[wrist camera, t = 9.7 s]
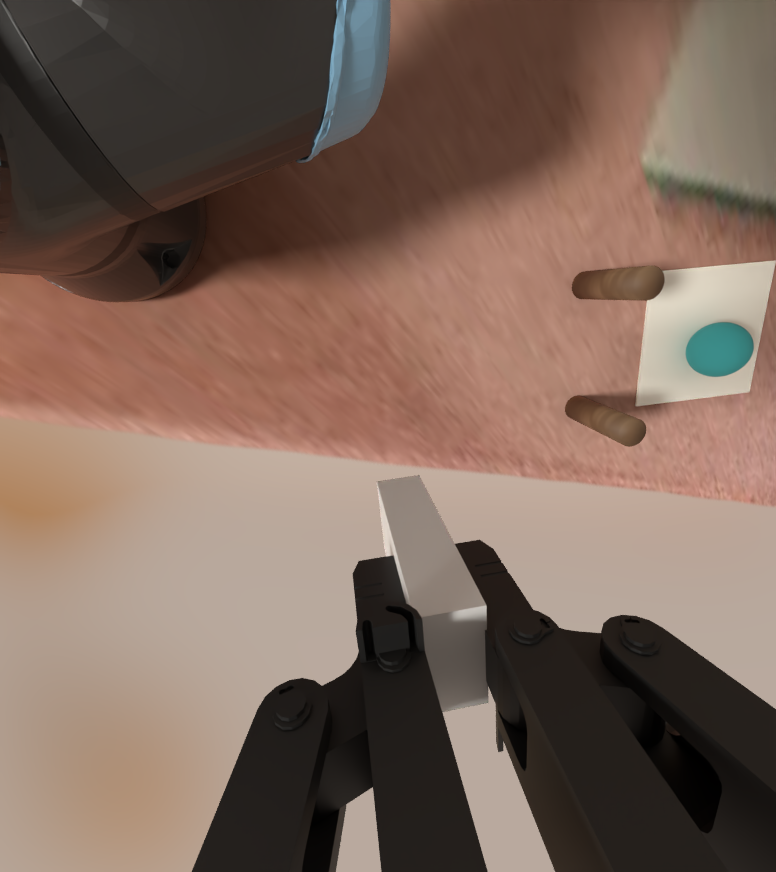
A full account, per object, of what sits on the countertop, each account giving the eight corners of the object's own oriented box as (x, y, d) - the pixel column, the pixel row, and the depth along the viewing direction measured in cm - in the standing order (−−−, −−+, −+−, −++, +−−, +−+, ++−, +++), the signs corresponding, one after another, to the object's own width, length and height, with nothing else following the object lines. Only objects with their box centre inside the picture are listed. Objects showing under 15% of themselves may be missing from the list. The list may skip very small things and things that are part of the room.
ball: (743, 320, 44) (682, 321, 46) (771, 322, 39) (701, 324, 41) (733, 372, 46) (674, 372, 47) (758, 381, 41) (692, 380, 42)
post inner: (572, 272, 42) (636, 267, 33) (597, 270, 42) (666, 264, 33) (571, 300, 42) (632, 301, 34) (595, 297, 43) (662, 298, 34)
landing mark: (650, 271, 43) (651, 271, 42) (773, 260, 44) (775, 260, 44) (634, 406, 47) (636, 406, 47) (747, 391, 49) (749, 392, 48)
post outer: (565, 397, 46) (620, 420, 37) (588, 394, 46) (647, 417, 37) (564, 420, 47) (617, 448, 38) (586, 417, 47) (644, 444, 38)
